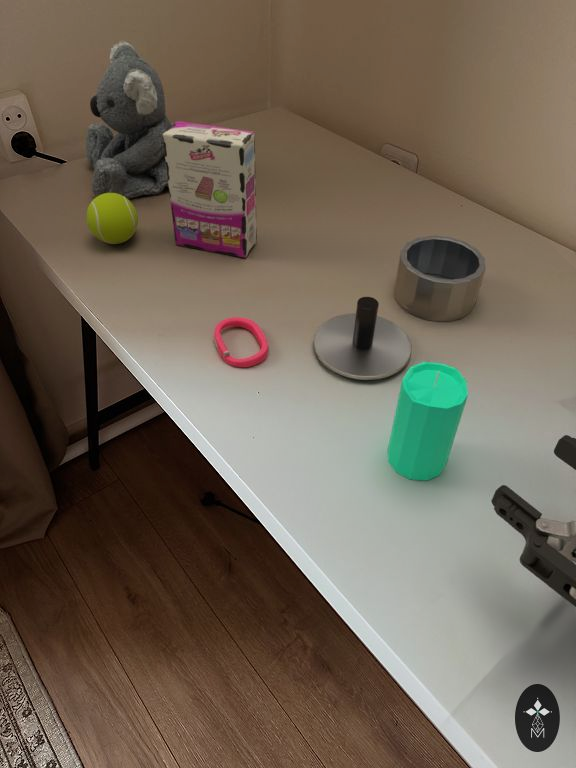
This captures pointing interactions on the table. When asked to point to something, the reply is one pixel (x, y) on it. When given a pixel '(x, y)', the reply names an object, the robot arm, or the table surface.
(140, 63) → the koala plush
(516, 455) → the table surface
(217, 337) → the fitness band
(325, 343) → the tin lid
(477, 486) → the table surface
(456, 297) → the tin
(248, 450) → the table surface
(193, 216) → the candy bar box
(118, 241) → the tennis ball
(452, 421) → the candle
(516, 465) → the table surface
